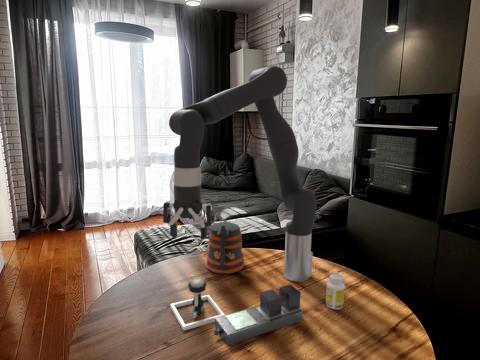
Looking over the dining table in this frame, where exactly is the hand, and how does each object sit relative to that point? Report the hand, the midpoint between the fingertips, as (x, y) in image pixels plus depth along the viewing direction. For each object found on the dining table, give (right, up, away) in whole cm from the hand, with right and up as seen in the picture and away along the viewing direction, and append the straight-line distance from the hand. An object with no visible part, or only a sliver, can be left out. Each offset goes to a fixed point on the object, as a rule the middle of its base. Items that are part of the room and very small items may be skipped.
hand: (188, 237), depth 98 cm
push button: (+2, -23, +4) cm, 24 cm away
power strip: (+20, -24, -1) cm, 32 cm away
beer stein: (+9, -18, +33) cm, 38 cm away
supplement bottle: (+44, -23, +9) cm, 51 cm away
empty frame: (+2, -23, +4) cm, 23 cm away
